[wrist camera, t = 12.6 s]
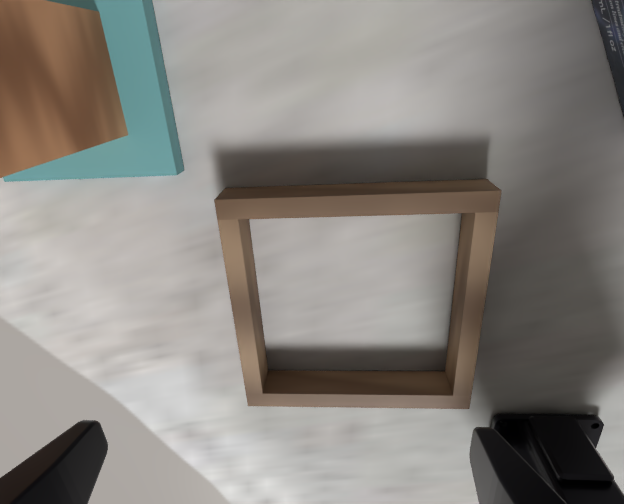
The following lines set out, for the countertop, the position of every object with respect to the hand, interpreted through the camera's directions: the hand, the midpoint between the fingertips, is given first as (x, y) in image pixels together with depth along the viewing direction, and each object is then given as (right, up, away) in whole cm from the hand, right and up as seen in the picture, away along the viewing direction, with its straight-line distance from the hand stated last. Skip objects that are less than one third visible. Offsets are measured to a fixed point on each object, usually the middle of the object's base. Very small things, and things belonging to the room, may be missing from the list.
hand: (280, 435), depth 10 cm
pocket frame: (+3, +2, +13) cm, 14 cm away
